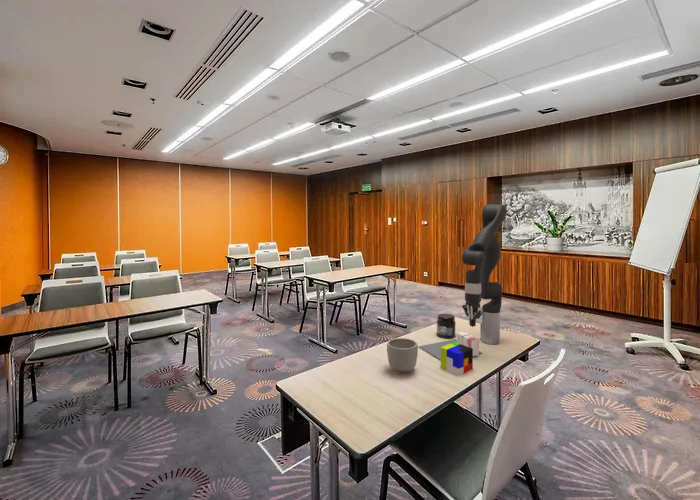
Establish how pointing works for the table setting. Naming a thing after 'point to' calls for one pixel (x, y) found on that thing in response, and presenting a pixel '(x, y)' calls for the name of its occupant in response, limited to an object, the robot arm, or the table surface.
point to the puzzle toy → (456, 358)
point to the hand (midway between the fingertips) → (472, 326)
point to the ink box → (468, 342)
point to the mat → (437, 348)
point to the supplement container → (446, 326)
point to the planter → (402, 354)
